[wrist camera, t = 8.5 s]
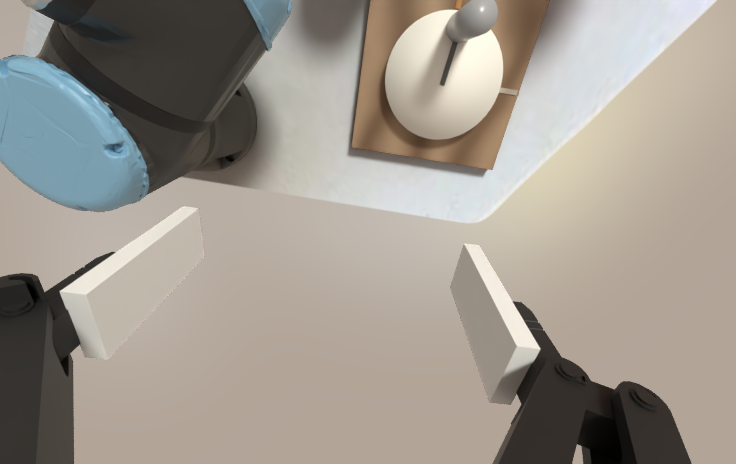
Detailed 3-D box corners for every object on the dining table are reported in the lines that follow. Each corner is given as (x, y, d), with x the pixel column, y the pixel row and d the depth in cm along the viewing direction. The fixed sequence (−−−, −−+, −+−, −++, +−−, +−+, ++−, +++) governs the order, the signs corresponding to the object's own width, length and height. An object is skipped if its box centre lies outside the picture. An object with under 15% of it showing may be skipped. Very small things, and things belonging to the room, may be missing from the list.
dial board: (352, 145, 45) (351, 147, 43) (375, -33, 36) (374, -37, 34) (488, 167, 45) (492, 170, 44) (544, -1, 36) (551, -4, 35)
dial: (473, 148, 43) (496, 166, 34) (373, 123, 42) (372, 136, 33) (518, 30, 37) (561, 16, 28) (402, -3, 35) (410, -27, 27)
